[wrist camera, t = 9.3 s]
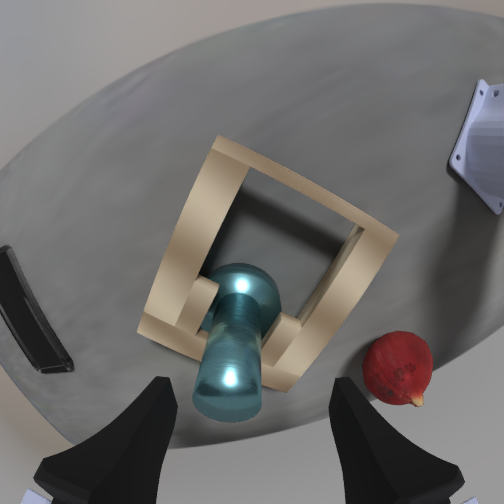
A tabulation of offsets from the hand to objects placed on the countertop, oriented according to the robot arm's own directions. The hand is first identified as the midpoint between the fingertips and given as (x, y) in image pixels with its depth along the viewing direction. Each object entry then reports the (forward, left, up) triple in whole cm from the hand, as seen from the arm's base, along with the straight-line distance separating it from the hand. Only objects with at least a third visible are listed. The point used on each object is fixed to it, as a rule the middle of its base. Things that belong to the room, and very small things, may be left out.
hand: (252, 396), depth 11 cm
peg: (+1, -1, -10) cm, 10 cm away
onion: (0, +12, -11) cm, 16 cm away
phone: (+15, -21, -11) cm, 28 cm away
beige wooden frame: (-2, -1, -10) cm, 10 cm away
